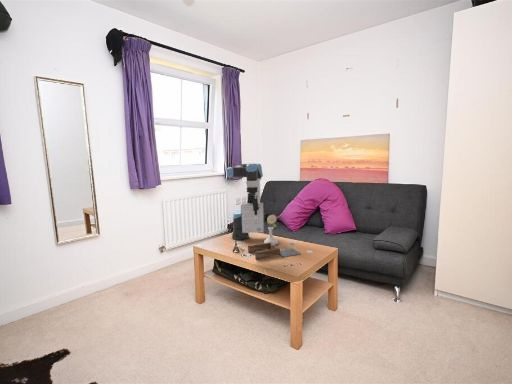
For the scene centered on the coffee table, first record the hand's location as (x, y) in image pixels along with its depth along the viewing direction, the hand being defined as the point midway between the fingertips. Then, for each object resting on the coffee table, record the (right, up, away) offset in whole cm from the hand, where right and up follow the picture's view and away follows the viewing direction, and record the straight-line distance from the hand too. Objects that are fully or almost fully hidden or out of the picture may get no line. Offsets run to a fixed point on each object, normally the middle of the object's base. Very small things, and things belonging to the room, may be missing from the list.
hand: (252, 218), depth 192 cm
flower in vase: (+15, -24, +27) cm, 39 cm away
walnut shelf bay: (+8, -27, +7) cm, 29 cm away
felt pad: (+26, -26, +7) cm, 38 cm away
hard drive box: (0, -10, +1) cm, 10 cm away
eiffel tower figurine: (-13, -27, +14) cm, 33 cm away
